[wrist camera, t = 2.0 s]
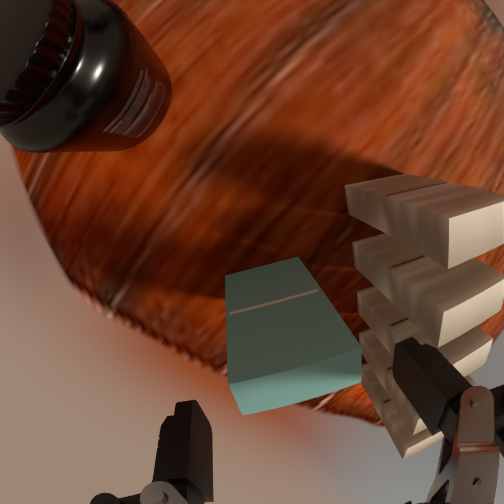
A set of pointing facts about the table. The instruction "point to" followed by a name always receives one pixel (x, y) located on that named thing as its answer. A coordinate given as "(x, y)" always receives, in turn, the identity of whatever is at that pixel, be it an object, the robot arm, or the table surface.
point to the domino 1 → (285, 338)
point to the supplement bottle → (77, 77)
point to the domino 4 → (420, 332)
